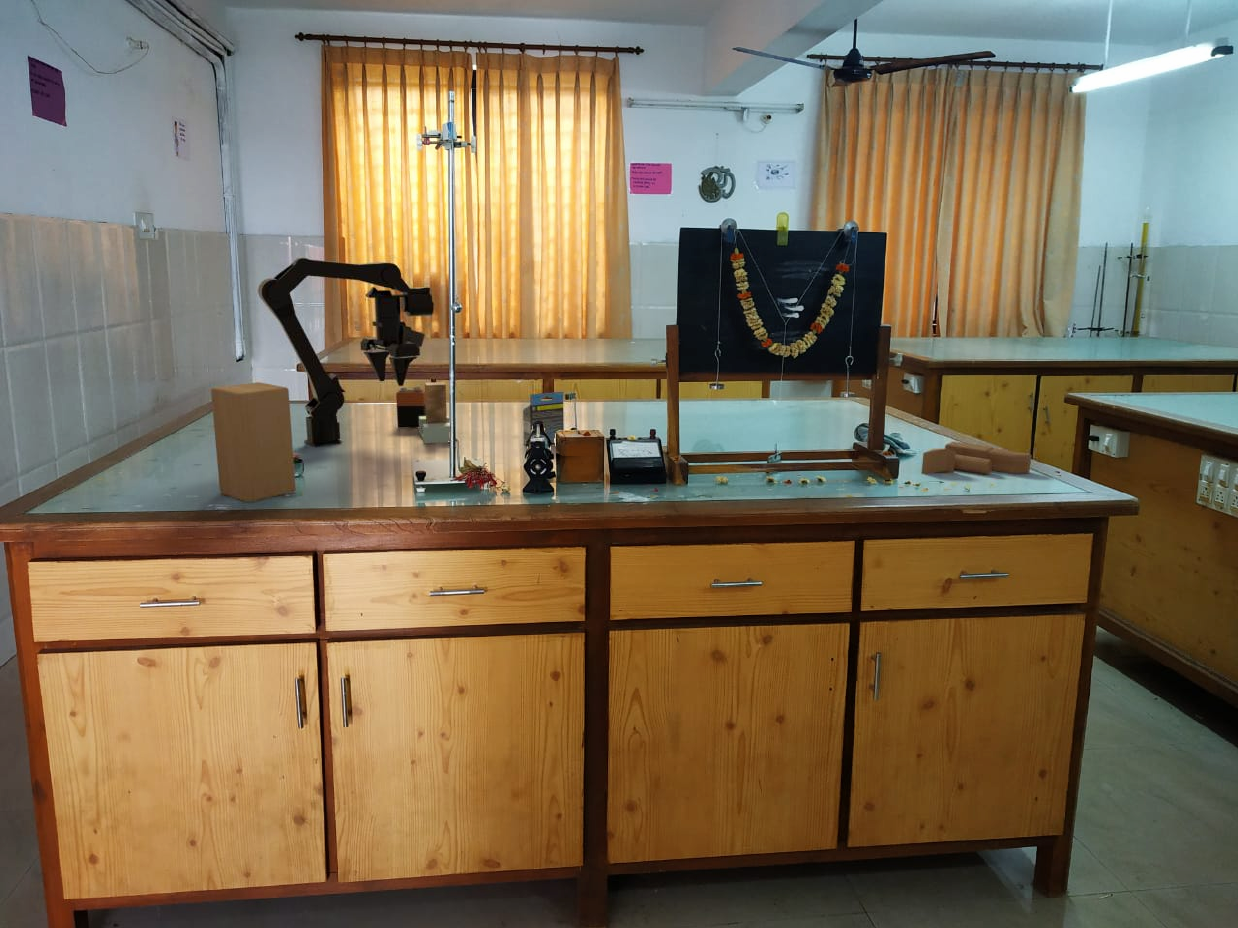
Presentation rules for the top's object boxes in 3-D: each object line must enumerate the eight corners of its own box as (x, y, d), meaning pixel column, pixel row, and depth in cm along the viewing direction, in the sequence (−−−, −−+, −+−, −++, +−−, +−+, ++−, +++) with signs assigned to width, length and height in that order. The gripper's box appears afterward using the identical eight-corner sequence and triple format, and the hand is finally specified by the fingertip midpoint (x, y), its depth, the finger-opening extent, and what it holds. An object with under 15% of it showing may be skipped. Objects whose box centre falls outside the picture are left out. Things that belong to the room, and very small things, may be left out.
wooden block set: (948, 436, 211) (1033, 448, 199) (946, 461, 212) (1030, 474, 201) (918, 447, 198) (1007, 461, 187) (916, 474, 199) (1003, 489, 188)
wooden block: (268, 483, 185) (260, 381, 180) (296, 492, 178) (289, 387, 174) (219, 493, 177) (209, 387, 172) (247, 503, 171) (238, 393, 166)
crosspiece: (455, 442, 223) (454, 425, 222) (425, 444, 221) (424, 427, 220) (447, 430, 236) (447, 415, 235) (419, 432, 234) (418, 416, 233)
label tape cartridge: (556, 440, 227) (556, 389, 224) (564, 443, 224) (564, 391, 221) (523, 444, 222) (522, 392, 219) (530, 447, 219) (530, 394, 216)
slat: (428, 435, 226) (426, 385, 223) (426, 432, 229) (424, 382, 226) (447, 434, 227) (445, 384, 224) (445, 431, 231) (443, 382, 228)
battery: (424, 428, 239) (423, 388, 237) (397, 428, 239) (395, 388, 236) (426, 424, 243) (425, 386, 241) (400, 424, 243) (398, 386, 240)
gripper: (439, 318, 219) (441, 385, 223) (400, 313, 233) (402, 376, 237) (395, 320, 212) (398, 389, 216) (357, 315, 226) (361, 380, 230)
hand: (391, 383), depth 225 cm, fingers open, 9 cm apart
